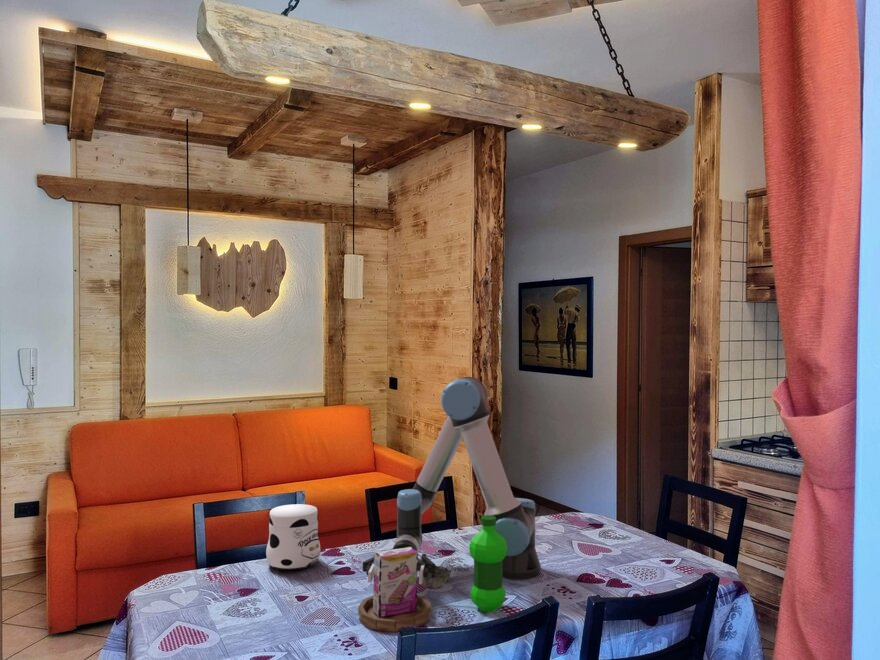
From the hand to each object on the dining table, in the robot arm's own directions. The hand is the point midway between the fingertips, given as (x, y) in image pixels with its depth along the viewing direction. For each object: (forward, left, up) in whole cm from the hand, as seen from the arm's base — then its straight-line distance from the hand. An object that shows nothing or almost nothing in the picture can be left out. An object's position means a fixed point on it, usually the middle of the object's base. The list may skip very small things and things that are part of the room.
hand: (394, 578), depth 177 cm
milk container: (+42, -34, -11) cm, 56 cm away
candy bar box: (0, -2, -10) cm, 10 cm away
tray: (0, -2, -11) cm, 11 cm away
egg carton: (-6, -29, -11) cm, 32 cm away
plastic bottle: (-24, -12, -11) cm, 29 cm away
